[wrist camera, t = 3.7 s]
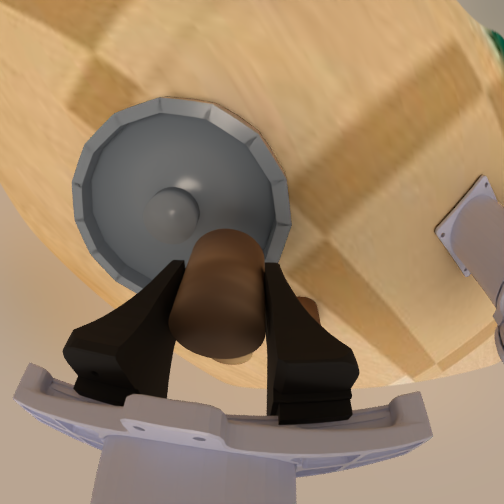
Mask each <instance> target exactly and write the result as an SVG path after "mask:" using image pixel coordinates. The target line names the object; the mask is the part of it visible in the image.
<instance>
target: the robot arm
mask: <svg viewBox="0 0 504 504" xmlns="http://www.w3.org/2000/svg"><path fill="white" fill-rule="evenodd" d="M442 233H443V234H442ZM435 234H436V235H437V236H438V238H439V239H440V240H441V242H442V243H443V245H444V246H445V247H446V249H447V250H448V252H449V253H450V255H451V256H452V257H453V259H454V260H455V262H456V263H457V265H458V266H459V268H460V269H461V271H462V273H463V274H464V276H465V277H468V276H469V275H470V274H472V275H473V277H474V278H475V279H476V281H477V282H478V283H479V285H480V286H481V287H482V289H483V290H484V291H485V293H486V294H487V296H488V297H489V298H490V300H491V301H492V303H493V304H494V306H495V307H496V311H495V313H494V315H493V318H494V319H495V321H496V322H497V324H498V325H497V327H496V330H495V344H496V348H497V351H498V354H499V357H500V359H501V360H502V362H503V363H504V207H503V206H502V205H500V204H499V203H498V201H497V199H496V197H495V194H494V192H493V190H492V187H491V185H490V183H489V181H488V179H487V177H486V176H484V175H482V176H481V177H480V178H479V179H478V181H477V182H476V183H475V184H474V186H473V187H472V188H471V189H470V190H469V192H468V193H467V194H466V195H465V196H464V198H463V199H462V200H461V201H460V202H459V203H458V205H457V206H456V207H455V208H454V209H453V210H452V211H451V213H450V214H449V215H448V216H447V217H446V218H445V219H444V220H443V221H442V222H441V224H440V225H439V226H438V227H437V228H436V230H435ZM441 234H442V235H441ZM185 269H186V268H185V261H184V260H172V261H171V262H170V263H169V264H168V265H167V266H166V267H165V268H164V269H163V270H162V271H161V272H160V273H159V274H158V275H157V276H156V277H155V278H154V279H153V280H152V281H151V282H150V283H149V284H148V285H146V286H145V287H144V288H143V289H142V290H141V291H140V292H138V293H137V294H136V295H135V296H134V297H132V298H131V299H130V300H128V301H127V302H126V303H124V304H123V305H121V306H120V307H118V308H117V309H115V310H113V311H112V312H110V313H109V314H107V315H105V316H104V317H101V318H99V319H97V320H96V321H93V322H91V323H89V324H86V325H84V326H82V327H79V328H77V329H74V330H73V332H72V333H71V335H70V337H69V339H68V341H67V343H66V345H65V347H64V349H63V355H64V358H65V359H66V361H67V362H68V364H69V365H70V366H71V367H72V369H73V370H74V371H75V372H76V374H77V375H78V378H77V380H76V382H75V385H72V384H69V383H66V382H63V381H60V380H58V379H55V378H53V377H52V376H51V374H50V373H49V372H48V371H47V370H46V369H44V368H42V367H40V366H37V365H35V364H32V363H29V365H28V366H27V369H26V370H25V373H24V374H23V377H22V379H21V381H20V383H19V385H18V387H17V390H16V392H15V394H14V396H13V400H15V402H17V403H18V404H19V405H20V406H21V407H23V408H24V409H25V410H26V411H27V412H28V413H30V414H31V415H32V416H33V417H35V418H36V419H37V420H38V421H40V422H42V423H44V424H46V425H48V426H50V427H52V428H54V429H56V430H58V431H60V432H62V433H64V434H66V435H68V436H70V437H72V438H74V439H76V440H79V441H81V442H83V443H86V444H88V445H90V446H92V447H95V448H97V449H100V450H102V453H101V457H100V461H99V465H98V469H97V474H96V478H95V484H94V488H93V493H92V498H91V504H296V477H304V476H313V475H319V474H326V473H331V472H337V471H342V470H347V469H352V468H356V467H360V466H364V465H368V464H373V463H376V462H380V461H384V460H387V459H391V458H395V457H398V456H402V455H405V454H407V453H409V452H410V451H412V450H414V449H415V448H417V447H419V446H420V445H422V444H423V443H425V442H427V441H428V440H430V439H431V438H432V437H433V434H432V430H431V427H430V423H429V419H428V416H427V412H426V409H425V406H424V402H423V399H422V396H421V393H420V392H419V391H417V392H413V393H409V394H404V395H400V396H398V397H395V398H394V399H393V400H392V401H391V402H390V403H389V405H384V406H378V407H373V408H366V409H360V410H352V407H351V402H350V399H351V398H352V394H351V387H352V386H353V384H354V383H355V381H356V380H357V378H358V376H359V368H358V364H357V361H356V358H355V356H354V354H353V351H352V349H351V348H349V347H348V346H346V345H345V344H343V343H342V342H340V341H339V340H338V339H336V338H335V337H334V336H332V335H331V334H330V333H329V332H327V331H326V330H325V329H324V328H323V327H322V326H321V325H320V324H319V323H318V322H317V321H316V320H315V319H314V318H313V317H312V316H311V315H310V314H309V313H308V311H307V310H306V309H305V308H304V307H303V305H302V304H301V303H300V301H299V300H298V298H297V297H296V295H295V294H294V292H293V291H292V289H291V287H290V286H289V284H288V282H287V280H286V279H285V277H284V275H283V272H282V270H281V268H280V265H279V264H278V263H272V262H265V272H264V278H265V332H266V342H267V416H247V415H226V414H224V413H223V412H222V411H221V410H220V409H218V408H216V407H214V406H211V405H207V404H202V403H195V402H186V401H179V400H172V399H167V392H168V382H169V374H170V368H171V361H172V355H173V350H174V346H175V342H176V339H175V338H174V337H173V335H172V333H171V332H170V329H169V324H168V323H169V316H170V313H171V310H172V307H173V304H174V301H175V298H176V295H177V292H178V289H179V286H180V283H181V281H182V278H183V275H184V272H185Z"/></svg>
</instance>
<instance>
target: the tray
mask: <svg viewBox="0 0 504 504" xmlns="http://www.w3.org/2000/svg"><path fill="white" fill-rule="evenodd" d="M72 194H73V207H74V218H75V222H76V224H77V227H78V229H79V231H80V233H81V236H82V238H83V240H84V242H85V244H86V246H87V248H88V250H89V252H90V254H91V255H92V256H93V258H94V259H95V260H96V261H97V262H98V263H99V264H100V265H101V266H102V267H103V268H104V269H105V271H106V272H107V273H108V274H109V275H110V276H111V277H112V278H113V279H114V280H115V281H116V282H118V283H120V284H121V285H123V286H125V287H127V288H128V289H130V290H132V291H133V292H135V293H138V292H140V291H141V290H142V289H143V288H144V287H145V286H146V285H148V284H149V283H150V282H151V281H152V280H153V279H154V278H155V277H156V276H157V275H158V274H159V273H160V272H161V271H162V270H163V269H164V268H165V267H166V266H167V265H168V264H169V263H170V262H171V261H172V260H184V261H185V268H186V266H187V264H188V261H189V258H190V255H191V253H192V250H193V247H194V245H195V243H196V242H197V241H198V240H199V239H200V237H202V236H203V235H204V234H206V233H208V232H210V231H213V230H217V229H234V230H238V231H241V232H244V233H246V234H248V235H249V236H251V237H252V238H253V239H254V240H256V242H257V243H258V244H259V245H260V247H261V249H262V251H263V254H264V259H265V262H272V263H278V262H279V260H280V257H281V254H282V251H283V248H284V246H285V243H286V240H287V237H288V234H289V231H290V228H291V226H292V223H291V214H290V205H289V196H288V187H287V179H286V175H285V172H284V170H283V169H282V167H281V165H280V164H279V162H278V160H277V159H276V157H275V155H274V153H273V151H272V149H271V148H270V146H269V145H268V144H267V142H266V141H265V140H264V138H263V137H262V135H261V133H260V132H259V131H258V130H257V129H255V128H254V127H252V126H251V125H250V124H249V123H248V122H246V121H245V120H244V119H242V118H241V117H240V116H238V115H237V114H235V113H233V112H231V111H229V110H228V109H226V108H224V107H222V106H220V105H219V104H217V103H213V102H206V101H202V100H197V99H188V98H177V97H159V98H156V99H153V100H150V101H147V102H144V103H141V104H138V105H135V106H133V107H130V108H127V109H125V110H122V111H119V112H117V113H114V114H113V115H112V116H111V117H110V118H109V119H108V120H107V121H106V122H105V123H104V124H103V125H102V126H101V127H100V128H99V129H98V130H97V132H96V133H95V134H94V135H93V136H92V137H91V138H90V139H89V140H88V141H87V142H86V143H85V145H84V147H83V150H82V153H81V156H80V158H79V161H78V164H77V167H76V171H75V174H74V177H73V180H72Z"/></svg>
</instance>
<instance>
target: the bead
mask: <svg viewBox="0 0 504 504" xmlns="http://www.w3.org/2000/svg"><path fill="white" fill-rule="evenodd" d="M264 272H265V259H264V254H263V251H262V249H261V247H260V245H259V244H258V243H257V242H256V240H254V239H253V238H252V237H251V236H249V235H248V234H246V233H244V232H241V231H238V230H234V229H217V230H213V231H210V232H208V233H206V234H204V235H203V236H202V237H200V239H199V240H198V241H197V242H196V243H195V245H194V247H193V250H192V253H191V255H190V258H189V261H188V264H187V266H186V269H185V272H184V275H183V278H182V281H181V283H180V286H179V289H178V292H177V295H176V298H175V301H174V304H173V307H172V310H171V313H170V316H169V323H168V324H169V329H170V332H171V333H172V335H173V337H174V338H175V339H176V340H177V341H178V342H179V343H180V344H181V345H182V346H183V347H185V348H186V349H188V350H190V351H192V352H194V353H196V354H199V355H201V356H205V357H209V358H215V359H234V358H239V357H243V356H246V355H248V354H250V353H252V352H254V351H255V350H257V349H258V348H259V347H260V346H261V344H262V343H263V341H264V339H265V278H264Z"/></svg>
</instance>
